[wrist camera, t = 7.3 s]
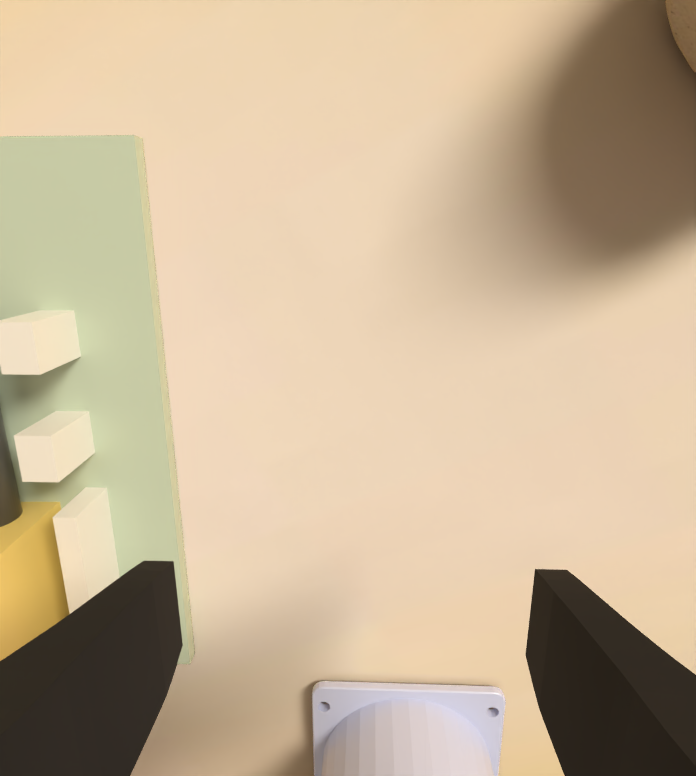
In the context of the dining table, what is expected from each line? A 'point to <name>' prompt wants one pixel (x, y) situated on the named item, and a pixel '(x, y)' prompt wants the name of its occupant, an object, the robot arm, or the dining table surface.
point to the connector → (26, 562)
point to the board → (88, 359)
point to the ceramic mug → (684, 27)
